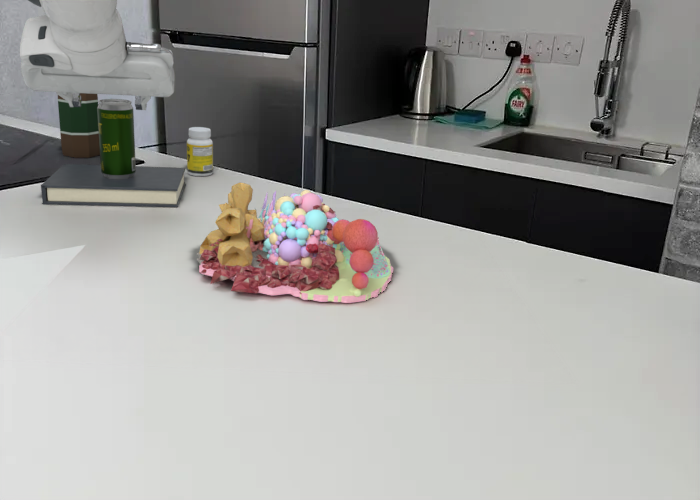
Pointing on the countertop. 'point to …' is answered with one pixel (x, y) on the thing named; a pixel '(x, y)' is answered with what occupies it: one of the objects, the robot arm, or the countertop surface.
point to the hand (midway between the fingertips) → (109, 105)
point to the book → (114, 187)
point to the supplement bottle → (199, 152)
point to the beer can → (116, 138)
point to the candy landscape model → (294, 250)
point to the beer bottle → (79, 127)
